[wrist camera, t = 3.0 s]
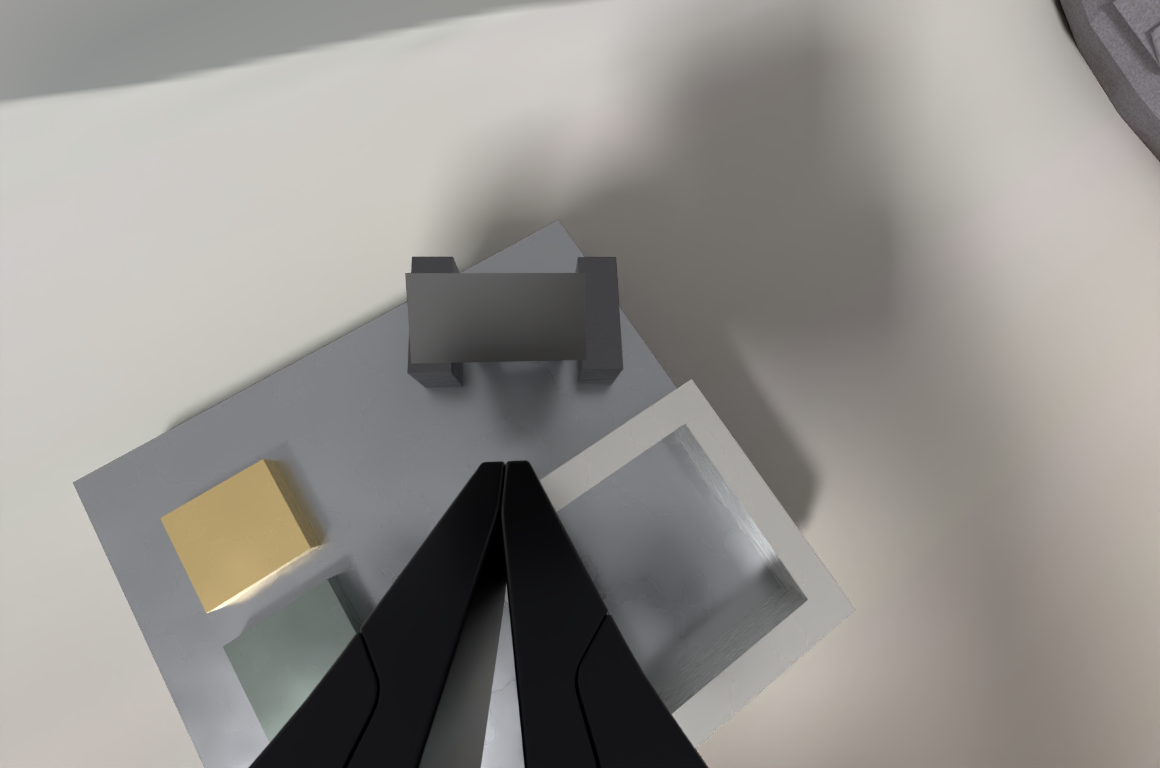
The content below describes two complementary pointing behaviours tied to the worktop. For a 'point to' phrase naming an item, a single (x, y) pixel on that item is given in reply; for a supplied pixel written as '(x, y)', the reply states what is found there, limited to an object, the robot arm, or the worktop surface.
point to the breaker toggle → (496, 317)
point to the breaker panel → (421, 497)
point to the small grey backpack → (1123, 57)
